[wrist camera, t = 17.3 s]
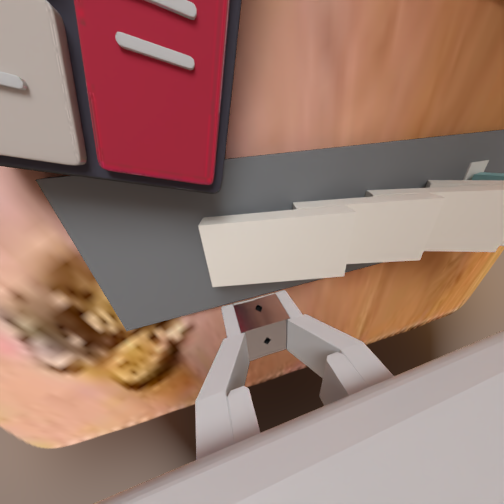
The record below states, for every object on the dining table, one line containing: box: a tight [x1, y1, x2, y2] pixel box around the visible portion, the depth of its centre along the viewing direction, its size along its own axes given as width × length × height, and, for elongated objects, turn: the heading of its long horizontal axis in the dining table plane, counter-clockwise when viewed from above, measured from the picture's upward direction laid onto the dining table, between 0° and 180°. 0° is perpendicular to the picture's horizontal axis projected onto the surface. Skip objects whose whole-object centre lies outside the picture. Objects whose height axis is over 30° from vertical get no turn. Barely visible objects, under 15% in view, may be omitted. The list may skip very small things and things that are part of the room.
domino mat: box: [36, 130, 504, 331], centre depth 18 cm, size 12×42×1 cm, turn 95°
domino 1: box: [198, 205, 356, 287], centre depth 14 cm, size 2×5×10 cm
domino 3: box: [365, 185, 504, 252], centre depth 16 cm, size 2×5×10 cm
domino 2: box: [293, 193, 445, 264], centre depth 15 cm, size 2×5×10 cm
